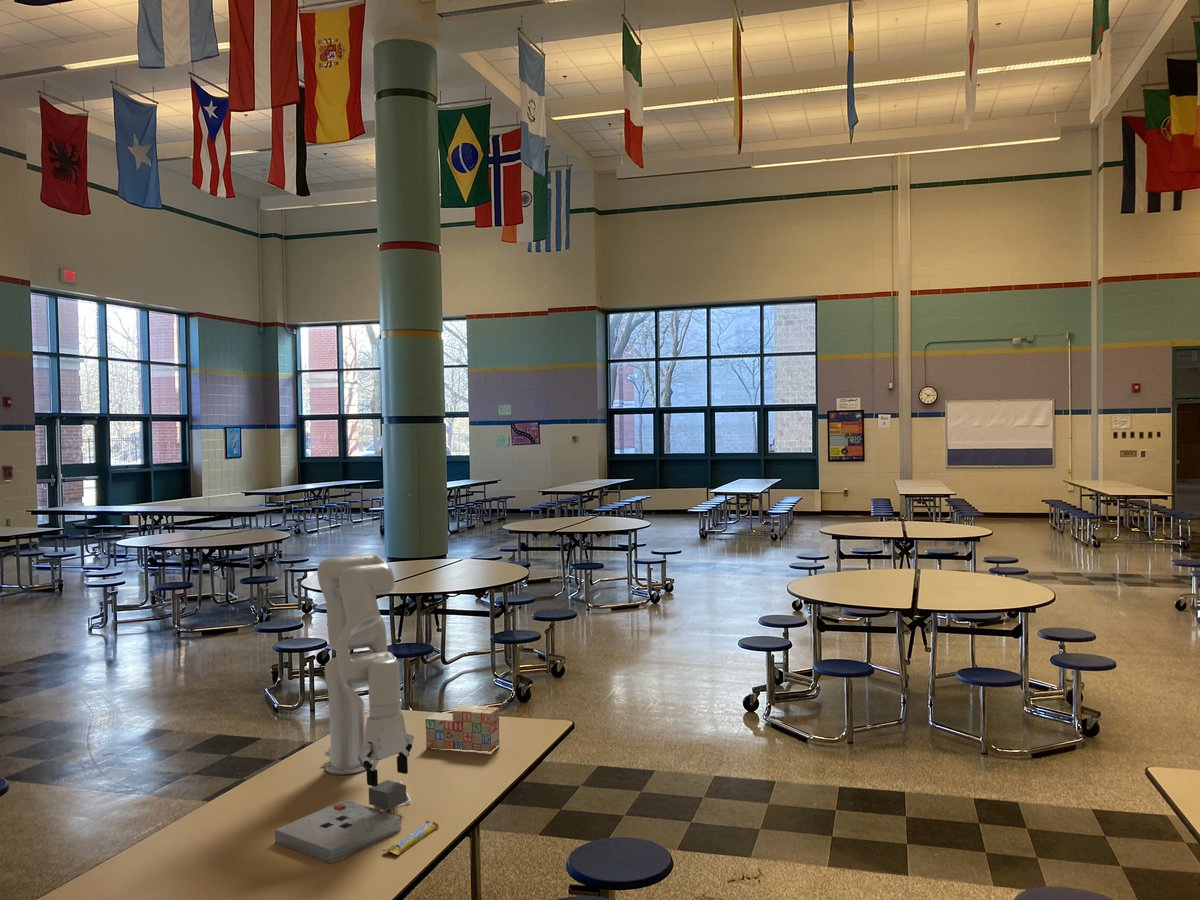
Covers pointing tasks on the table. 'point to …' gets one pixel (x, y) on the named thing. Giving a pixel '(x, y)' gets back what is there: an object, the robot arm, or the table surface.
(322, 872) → the table surface
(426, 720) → the stack of blocks
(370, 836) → the socket plate
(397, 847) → the candy bar
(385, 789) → the plug
